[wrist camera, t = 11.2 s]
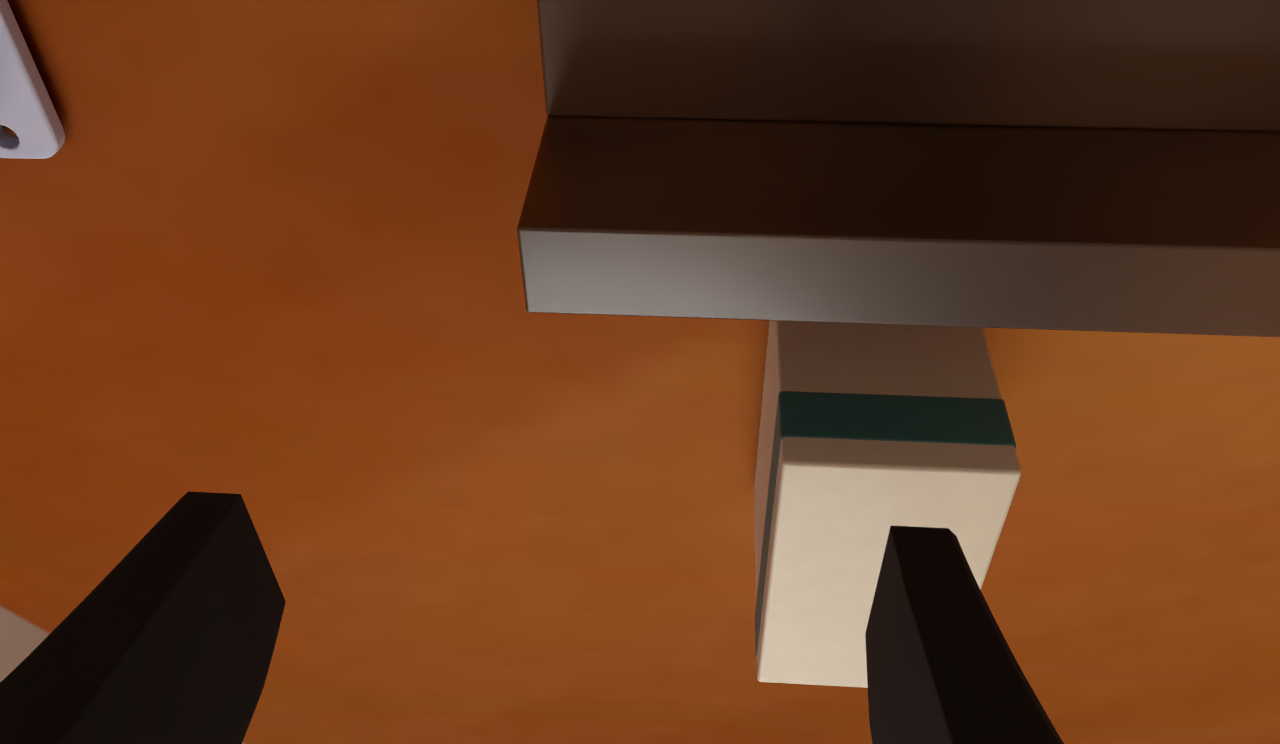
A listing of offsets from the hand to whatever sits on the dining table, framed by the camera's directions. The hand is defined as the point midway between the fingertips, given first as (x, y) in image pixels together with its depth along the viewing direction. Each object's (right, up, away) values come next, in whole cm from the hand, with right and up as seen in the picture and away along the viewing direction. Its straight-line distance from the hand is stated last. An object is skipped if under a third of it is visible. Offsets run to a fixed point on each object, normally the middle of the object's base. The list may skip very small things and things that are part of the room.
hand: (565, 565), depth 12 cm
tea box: (+6, +2, +12) cm, 13 cm away
